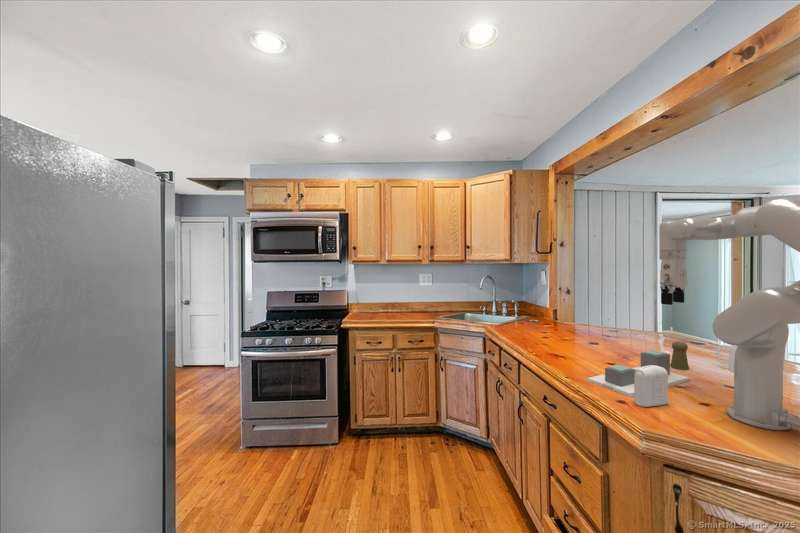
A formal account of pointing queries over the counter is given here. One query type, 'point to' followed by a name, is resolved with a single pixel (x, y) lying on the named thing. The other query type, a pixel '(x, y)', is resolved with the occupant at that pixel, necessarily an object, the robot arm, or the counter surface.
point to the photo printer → (651, 386)
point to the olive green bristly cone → (679, 356)
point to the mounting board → (631, 387)
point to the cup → (731, 356)
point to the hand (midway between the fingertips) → (672, 303)
